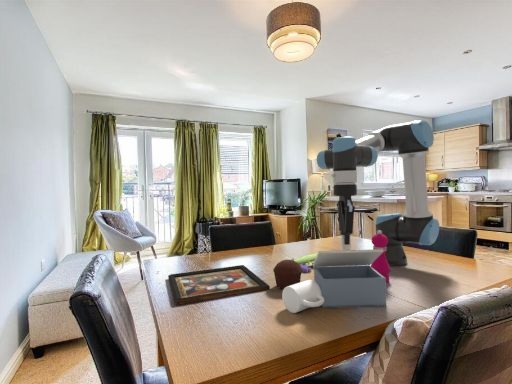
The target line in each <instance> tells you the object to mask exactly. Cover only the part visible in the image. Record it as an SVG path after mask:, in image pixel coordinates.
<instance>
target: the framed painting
mask: <svg viewBox="0 0 512 384" xmlns="http://www.w3.org/2000/svg"><path fill="white" fill-rule="evenodd" d="M167 279H168V284H169V288H170V291H171V295H172V297H173V303H174V306H175V307H178V306H183V305H189V304H195V303H200V302H201V303H202V302H207V301H213V300H218V299H223V298H229V297H235V296H239V295H247V294H251V293H256V292H262V291H263V292H264V291H268V290H270V288H271V285H269V284H268V283H267V282H266V281H264V280H263V279H262V278H260V277H259V276H258V275H257V274H255V273H254V272H253V271H252V270H251V269H249V268H248V267H247V266H246V265H244V264H242V265H241V264H239V265H233V266H225V267H218V268H211V269H204V270H202V269H201V270H195V271H194V270H193V271H186V272H180V273H179V272H178V273H172V274H168V276H167Z"/></svg>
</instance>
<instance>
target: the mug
mask: <svg viewBox="0 0 512 384" xmlns="http://www.w3.org/2000/svg"><path fill="white" fill-rule="evenodd" d="M281 299H282V301H283V304H284V307H285V308H286V310H287V311H289V313H291V314H296V313H298V312H301V311H304V310H307V309H308V308H309V309H310V308H317V307H320V306H321V307H322V304H323V303H324V298H323V297H322V293H321V290H320V287H319V286H318V284H317V283H316V282H315V281H314V279H307V280H303V281H300V283H297V284H294V285H290V286H287V287H285V288H284V290H282V295H281Z"/></svg>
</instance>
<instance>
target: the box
mask: <svg viewBox="0 0 512 384" xmlns="http://www.w3.org/2000/svg"><path fill="white" fill-rule="evenodd" d="M313 281H315V282H316V283H317V284H318V286H319V287H320V290H321V293H322V297H323V298H324V303H323V304H322V305H321V308H323V309H329V308H330V309H335V308H339V309H340V308H372V307H373V308H374V307H375V308H376V307H387V282H386V278H385V277H384V276H382V275H381V274H380V273H378V272H377V271H376V270H374V269H373V268H372V267H371V265H358V266H324V267H313Z"/></svg>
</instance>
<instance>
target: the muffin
mask: <svg viewBox="0 0 512 384" xmlns="http://www.w3.org/2000/svg"><path fill="white" fill-rule="evenodd" d="M302 271H303V269H302V267H301V266H300V265H299V264H298V263H297V262H295V259H294V260H292V259H283V260H281V261H279V262H278V263H276V265H275V266H274V268H273V271H272V272H273V274H274V279H275V284H276V288H277V289H279V290H281V291H283V290H284V288H285V287H287V286H290V285H294V284H297V283H300V282H301V279H302V278H301V277H302V273H303V272H302Z"/></svg>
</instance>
